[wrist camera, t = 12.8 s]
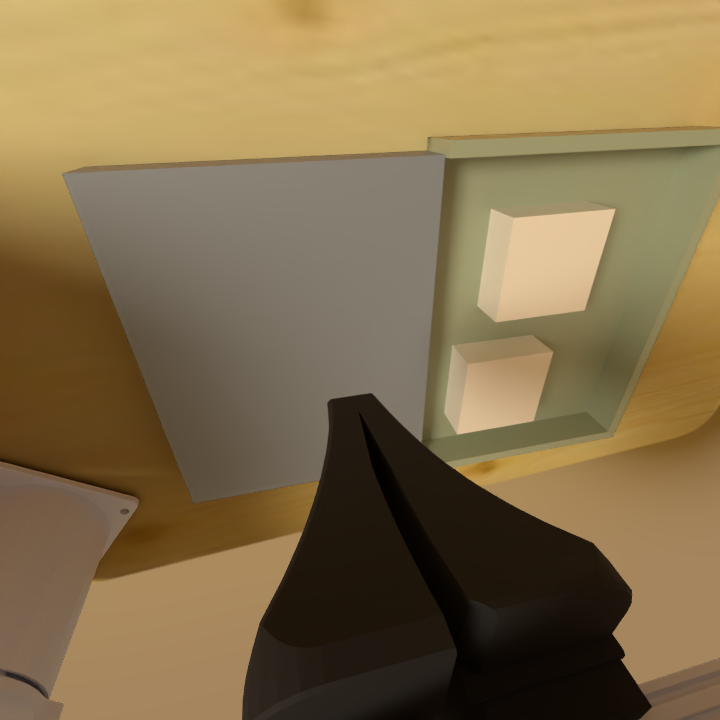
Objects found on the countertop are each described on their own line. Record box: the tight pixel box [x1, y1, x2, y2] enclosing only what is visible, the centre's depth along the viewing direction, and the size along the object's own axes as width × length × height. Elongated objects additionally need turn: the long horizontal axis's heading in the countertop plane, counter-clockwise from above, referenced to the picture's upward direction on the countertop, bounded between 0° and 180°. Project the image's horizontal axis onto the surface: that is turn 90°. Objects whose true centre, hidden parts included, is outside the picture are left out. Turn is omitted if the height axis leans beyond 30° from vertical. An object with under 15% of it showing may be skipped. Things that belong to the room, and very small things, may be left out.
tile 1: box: [477, 201, 616, 322], centre depth 19 cm, size 5×5×2 cm
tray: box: [422, 126, 720, 468], centre depth 21 cm, size 14×18×2 cm
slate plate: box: [62, 151, 445, 504], centre depth 19 cm, size 14×17×2 cm
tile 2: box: [444, 335, 553, 435], centre depth 23 cm, size 5×5×2 cm
